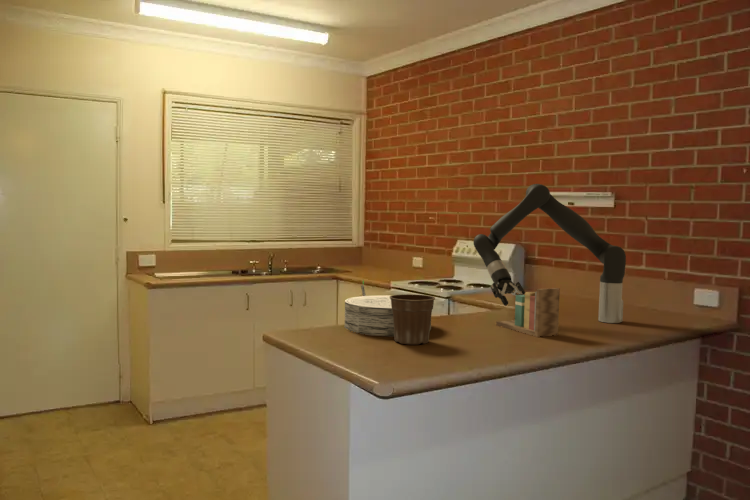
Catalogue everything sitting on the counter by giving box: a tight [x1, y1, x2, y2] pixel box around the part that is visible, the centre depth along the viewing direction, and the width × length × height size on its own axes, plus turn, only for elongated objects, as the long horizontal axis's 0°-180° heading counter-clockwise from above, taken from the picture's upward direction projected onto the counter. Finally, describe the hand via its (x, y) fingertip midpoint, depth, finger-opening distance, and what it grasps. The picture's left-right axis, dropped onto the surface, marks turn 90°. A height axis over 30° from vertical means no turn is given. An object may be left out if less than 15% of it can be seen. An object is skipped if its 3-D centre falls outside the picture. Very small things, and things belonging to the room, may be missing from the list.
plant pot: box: [389, 293, 436, 346], centre depth 221 cm, size 16×16×16 cm
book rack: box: [496, 287, 561, 338], centre depth 247 cm, size 10×26×18 cm, turn 26°
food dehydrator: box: [344, 280, 432, 337], centre depth 248 cm, size 38×34×18 cm
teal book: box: [514, 294, 525, 327], centre depth 249 cm, size 5×4×12 cm
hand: (515, 304), depth 253 cm, fingers open, 8 cm apart
